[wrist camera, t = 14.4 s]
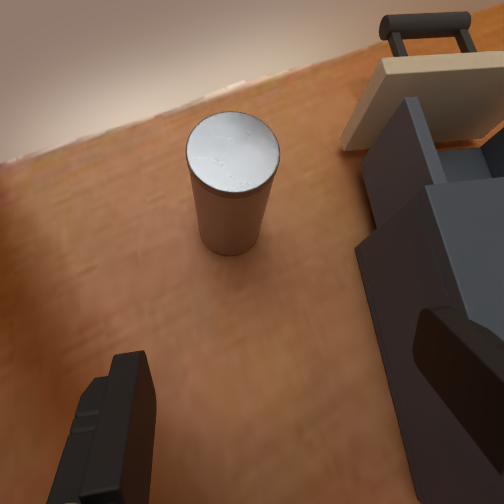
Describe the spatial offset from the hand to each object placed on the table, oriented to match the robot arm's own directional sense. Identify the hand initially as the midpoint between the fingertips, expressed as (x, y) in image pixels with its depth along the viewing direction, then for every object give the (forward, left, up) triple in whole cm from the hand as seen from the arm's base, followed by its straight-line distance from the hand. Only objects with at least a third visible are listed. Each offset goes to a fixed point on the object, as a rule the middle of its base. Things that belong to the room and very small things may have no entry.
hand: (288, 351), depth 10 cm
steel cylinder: (0, +9, -13) cm, 16 cm away
